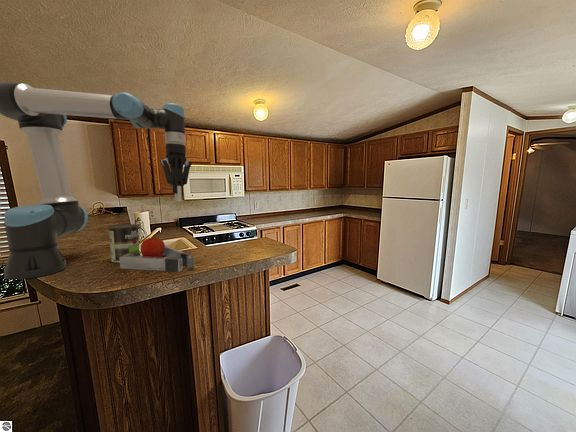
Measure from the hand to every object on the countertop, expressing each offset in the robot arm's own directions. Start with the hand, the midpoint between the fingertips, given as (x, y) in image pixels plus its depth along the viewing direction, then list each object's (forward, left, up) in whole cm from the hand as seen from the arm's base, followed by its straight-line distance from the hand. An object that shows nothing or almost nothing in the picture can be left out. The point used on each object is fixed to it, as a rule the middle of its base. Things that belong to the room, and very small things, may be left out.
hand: (178, 201), depth 101 cm
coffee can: (-21, -6, -25) cm, 33 cm away
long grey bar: (0, -15, -24) cm, 29 cm away
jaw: (0, -6, -24) cm, 25 cm away
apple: (-5, -10, -25) cm, 27 cm away
